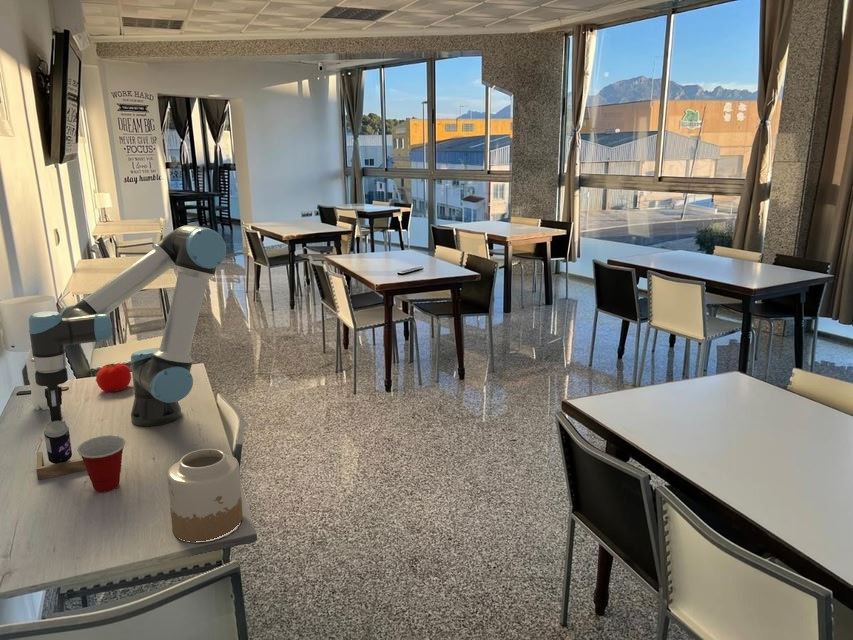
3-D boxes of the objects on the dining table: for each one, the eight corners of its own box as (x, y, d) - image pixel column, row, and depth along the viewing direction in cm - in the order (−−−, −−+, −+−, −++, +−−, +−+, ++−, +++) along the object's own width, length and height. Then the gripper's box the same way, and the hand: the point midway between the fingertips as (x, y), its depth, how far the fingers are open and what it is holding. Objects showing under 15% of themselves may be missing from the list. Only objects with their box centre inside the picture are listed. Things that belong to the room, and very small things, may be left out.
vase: (165, 519, 142) (158, 453, 138) (230, 500, 150) (226, 437, 146) (182, 552, 130) (175, 481, 126) (252, 529, 138) (248, 462, 134)
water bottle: (61, 406, 208) (51, 336, 202) (39, 413, 202) (28, 340, 196) (50, 402, 212) (40, 332, 206) (28, 408, 206) (17, 337, 200)
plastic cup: (82, 502, 149) (76, 457, 146) (83, 482, 158) (77, 440, 155) (131, 492, 154) (126, 448, 151) (129, 473, 163) (124, 432, 160)
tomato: (140, 386, 228) (137, 360, 226) (110, 397, 217) (107, 370, 214) (119, 382, 232) (116, 356, 230) (89, 392, 221) (85, 365, 219)
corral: (89, 452, 174) (88, 443, 174) (91, 468, 165) (90, 458, 164) (38, 462, 168) (37, 452, 167) (37, 479, 159) (36, 469, 158)
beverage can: (61, 468, 166) (57, 437, 160) (43, 461, 167) (38, 430, 160) (77, 455, 171) (73, 423, 164) (59, 448, 171) (54, 416, 165)
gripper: (35, 363, 168) (44, 441, 174) (33, 377, 158) (44, 460, 163) (66, 360, 172) (74, 436, 178) (67, 373, 161) (76, 455, 167)
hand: (60, 448), depth 171 cm, fingers closed
